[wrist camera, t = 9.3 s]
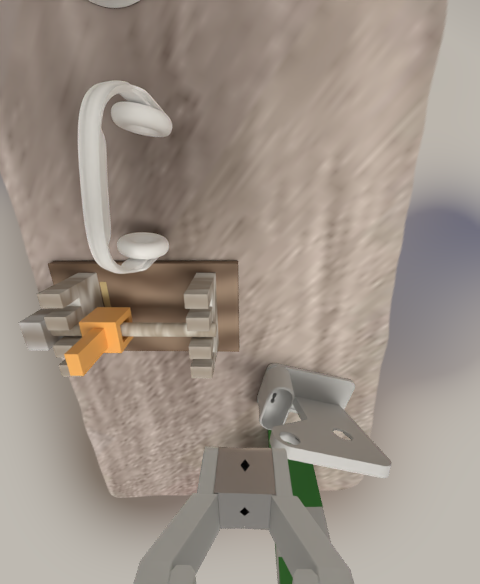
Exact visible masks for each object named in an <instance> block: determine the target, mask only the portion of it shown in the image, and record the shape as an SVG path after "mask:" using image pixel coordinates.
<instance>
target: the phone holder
mask: <svg viewBox="0 0 480 584" xmlns="http://www.w3.org/2000/svg"><path fill="white" fill-rule="evenodd" d="M354 389H355V385H354V383H353V381H352V380H350V379H346V378H341V377H337V376H332V375H328V374H323V373H319V372H314V371H310V370H305V369H300V368H296V367H291V366H287V365H282V364H278V363H272V364H270V365H268V367H267V369H266V372H265V375H264V378H263V381H262V384H261V387H260V390H259V393H258V396H257V402H258V404H259V421H260V424H261V425H262V427H264V428H265V429H268V430H272V432H271V436H270V440H269V441H270V445H271V448H285V450H286V452H287V459H289V460H294V461H299V462H304V463H309V464H314V465H319V466H324V467H329V468H334V469H339V470H344V471H349V472H354V473H359V474H364V475H369V476H374V477H379V478H386V477H388V475H389V471H390V467H391V461H390V459H389V458H388V457H387V456H386V455H385V454H384V453H383V452H382V451H381V449H380V448H379V447H378V446H377V445H376V444H375V443H374V442H373V441H372V440H371V439H370V438H369V437H368V435H367V434H366V433H365V432H364V431H363V430H362V429H361V428H360V427H359V426H358V425H357V424H356V422H355V421H354V420H353V419H352V418H351V417H350V416H349V415H348V414H347V413H346V412H345V411H344V409H345V407H346V405H347V403H348V401H349V399H350V397H351V395H352V393H353V391H354ZM289 412H294V413H298V415H299V417H300V418H301V420H302V421H298V422H293V423H289V424H284V423H285V421H286V418H287V416H288V413H289ZM334 430H338V431H341V432H343V433H344V434H345V435H346V436H347V437H349V438H350V439H351V440H345V439H343V438H340V437H339V436H337V435H336V434H334V432H333V431H334ZM285 441H286V442H285ZM287 442H289V443H287ZM290 443H291V444H290Z"/></svg>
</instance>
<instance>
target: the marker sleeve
mask: <svg viewBox="0 0 480 584" xmlns="http://www.w3.org/2000/svg"><path fill="white" fill-rule="evenodd" d="M123 322H133V321H132V315H131V310H130V307H97V308H96V309H94V310H93V311H92V312H91V313H89V314H88V315H87V316H86V317H84V318H83V319H82V320H81V321H79V326H80V330H81V334H82V338H81V339H80V340H79V341H78V342H77V343H76V344H75V345H74V346H72V347H71V348H70V349H69V350H68V351H67V352H66V353H65V354H64V356H65V359H66V362H67V366H68V369H69V373H70V376H84V375H85V374H86V373H87V371H88V370H89V369H90V368H91V367H92V366H93V364H94V363H95V362H96V361H97V360H98V359H99V358H100V356H101V355H102V354H103V353H122V352H123V350H124V349H125V348H126V346H127V345H128V344H129V342H130V341H131V340H132V339H133V337H134V336H122V333H121V328H120V325H121V324H122V323H123Z"/></svg>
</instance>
